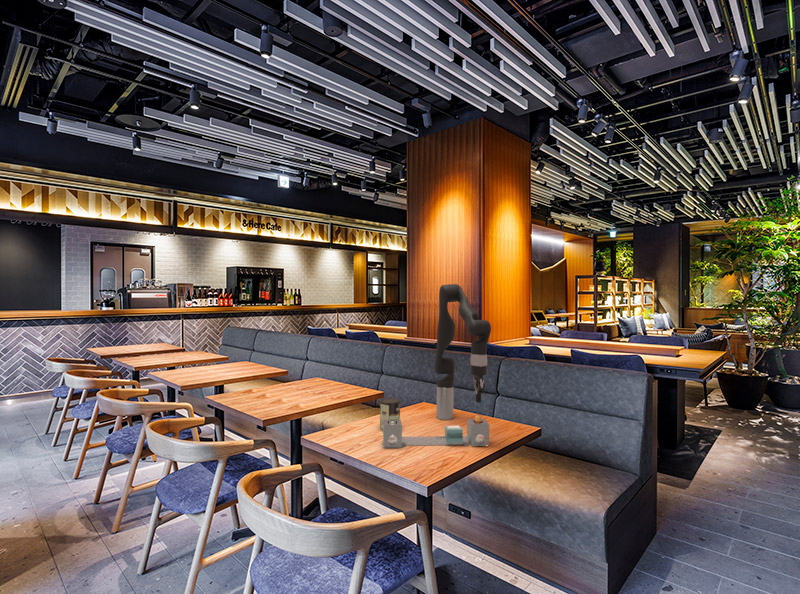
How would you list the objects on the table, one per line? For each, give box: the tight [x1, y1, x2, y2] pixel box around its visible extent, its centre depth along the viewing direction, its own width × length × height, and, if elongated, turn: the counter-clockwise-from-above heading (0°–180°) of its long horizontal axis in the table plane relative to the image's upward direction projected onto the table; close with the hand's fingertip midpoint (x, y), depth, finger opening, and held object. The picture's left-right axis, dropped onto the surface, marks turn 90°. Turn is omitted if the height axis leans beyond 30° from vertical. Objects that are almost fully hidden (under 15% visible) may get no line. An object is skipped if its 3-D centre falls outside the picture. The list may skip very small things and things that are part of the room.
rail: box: [402, 435, 469, 448], centre depth 188 cm, size 6×30×3 cm, turn 94°
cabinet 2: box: [466, 418, 490, 447], centre depth 189 cm, size 9×8×10 cm
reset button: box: [474, 414, 482, 423], centre depth 189 cm, size 3×3×4 cm
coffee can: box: [379, 397, 401, 431], centre depth 209 cm, size 10×10×14 cm
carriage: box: [444, 425, 464, 443], centre depth 188 cm, size 5×7×6 cm
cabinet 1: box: [382, 419, 403, 449], centre depth 186 cm, size 9×8×11 cm
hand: (478, 401), depth 189 cm, fingers closed
